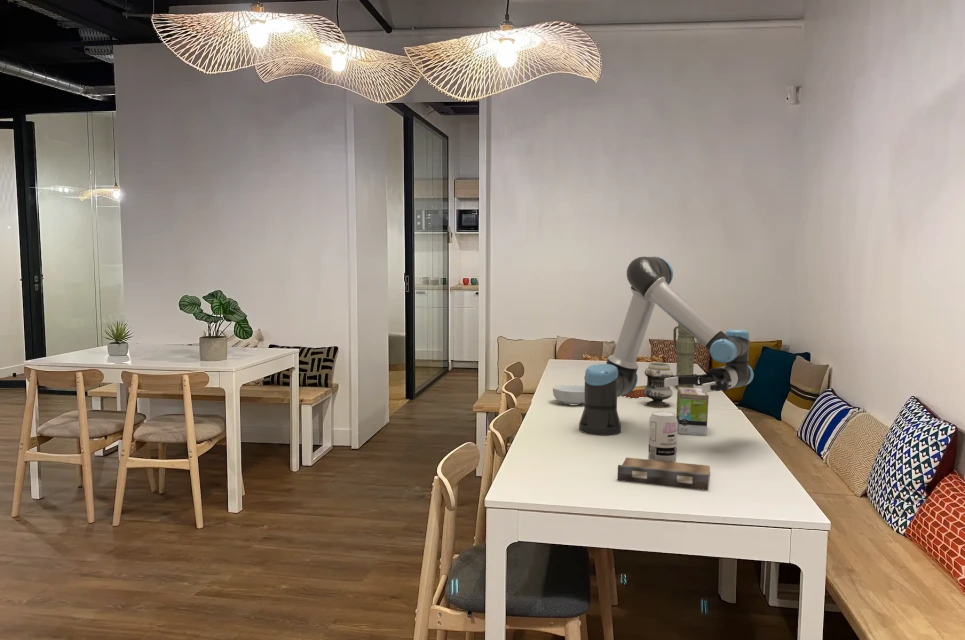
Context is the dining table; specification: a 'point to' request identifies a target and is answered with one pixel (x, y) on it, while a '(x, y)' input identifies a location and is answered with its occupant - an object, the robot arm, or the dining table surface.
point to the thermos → (684, 353)
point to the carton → (637, 392)
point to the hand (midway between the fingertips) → (683, 385)
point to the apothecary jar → (657, 384)
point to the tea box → (692, 411)
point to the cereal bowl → (569, 393)
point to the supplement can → (662, 436)
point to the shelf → (664, 473)
